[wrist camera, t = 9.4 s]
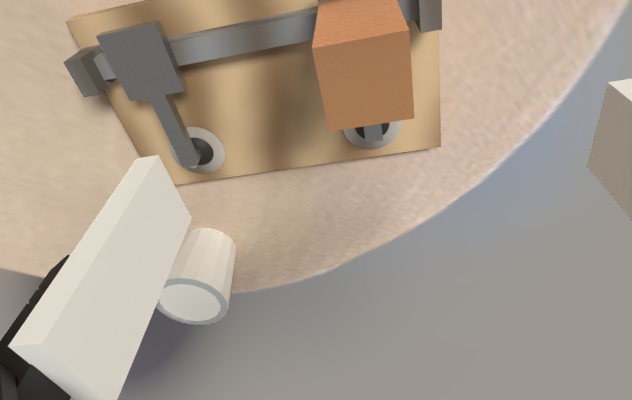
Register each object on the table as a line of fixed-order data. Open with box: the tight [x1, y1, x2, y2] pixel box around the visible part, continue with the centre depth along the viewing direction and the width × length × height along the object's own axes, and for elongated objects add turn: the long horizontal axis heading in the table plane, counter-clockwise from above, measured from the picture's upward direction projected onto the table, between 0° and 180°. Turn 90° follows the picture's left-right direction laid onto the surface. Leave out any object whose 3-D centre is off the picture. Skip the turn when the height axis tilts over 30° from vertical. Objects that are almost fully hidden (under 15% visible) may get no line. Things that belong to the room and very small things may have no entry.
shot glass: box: [156, 228, 236, 325], centre depth 39 cm, size 7×7×7 cm
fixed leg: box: [96, 20, 202, 168], centre depth 29 cm, size 4×11×2 cm, turn 12°
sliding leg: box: [312, 0, 415, 143], centre depth 23 cm, size 4×11×11 cm, turn 12°
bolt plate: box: [63, 0, 442, 185], centre depth 29 cm, size 24×14×4 cm, turn 102°
